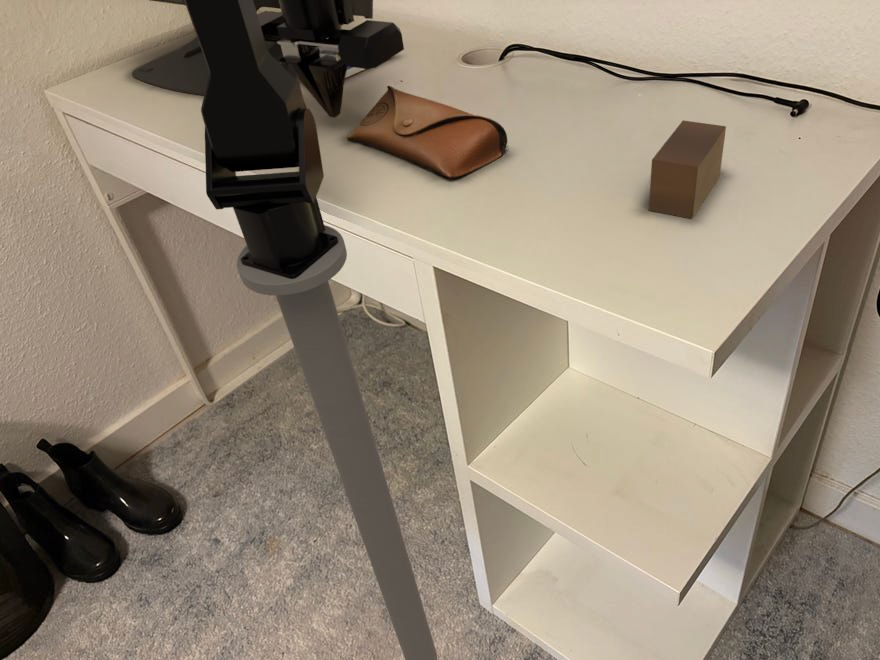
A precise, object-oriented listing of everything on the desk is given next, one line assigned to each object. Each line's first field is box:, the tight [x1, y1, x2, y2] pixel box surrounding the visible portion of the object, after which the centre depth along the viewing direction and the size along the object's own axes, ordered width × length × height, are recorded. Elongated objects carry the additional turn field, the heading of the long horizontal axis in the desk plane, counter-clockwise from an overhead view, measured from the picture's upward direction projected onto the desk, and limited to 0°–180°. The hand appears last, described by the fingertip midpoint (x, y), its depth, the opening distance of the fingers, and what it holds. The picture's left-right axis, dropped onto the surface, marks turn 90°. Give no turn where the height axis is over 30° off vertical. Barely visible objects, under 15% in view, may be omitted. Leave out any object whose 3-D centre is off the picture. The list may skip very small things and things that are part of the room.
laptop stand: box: [131, 0, 284, 96], centre depth 102 cm, size 26×24×16 cm
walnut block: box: [648, 120, 727, 219], centre depth 66 cm, size 8×4×5 cm, turn 150°
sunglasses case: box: [346, 85, 508, 179], centre depth 79 cm, size 18×7×7 cm, turn 47°
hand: (335, 115), depth 84 cm, fingers closed
